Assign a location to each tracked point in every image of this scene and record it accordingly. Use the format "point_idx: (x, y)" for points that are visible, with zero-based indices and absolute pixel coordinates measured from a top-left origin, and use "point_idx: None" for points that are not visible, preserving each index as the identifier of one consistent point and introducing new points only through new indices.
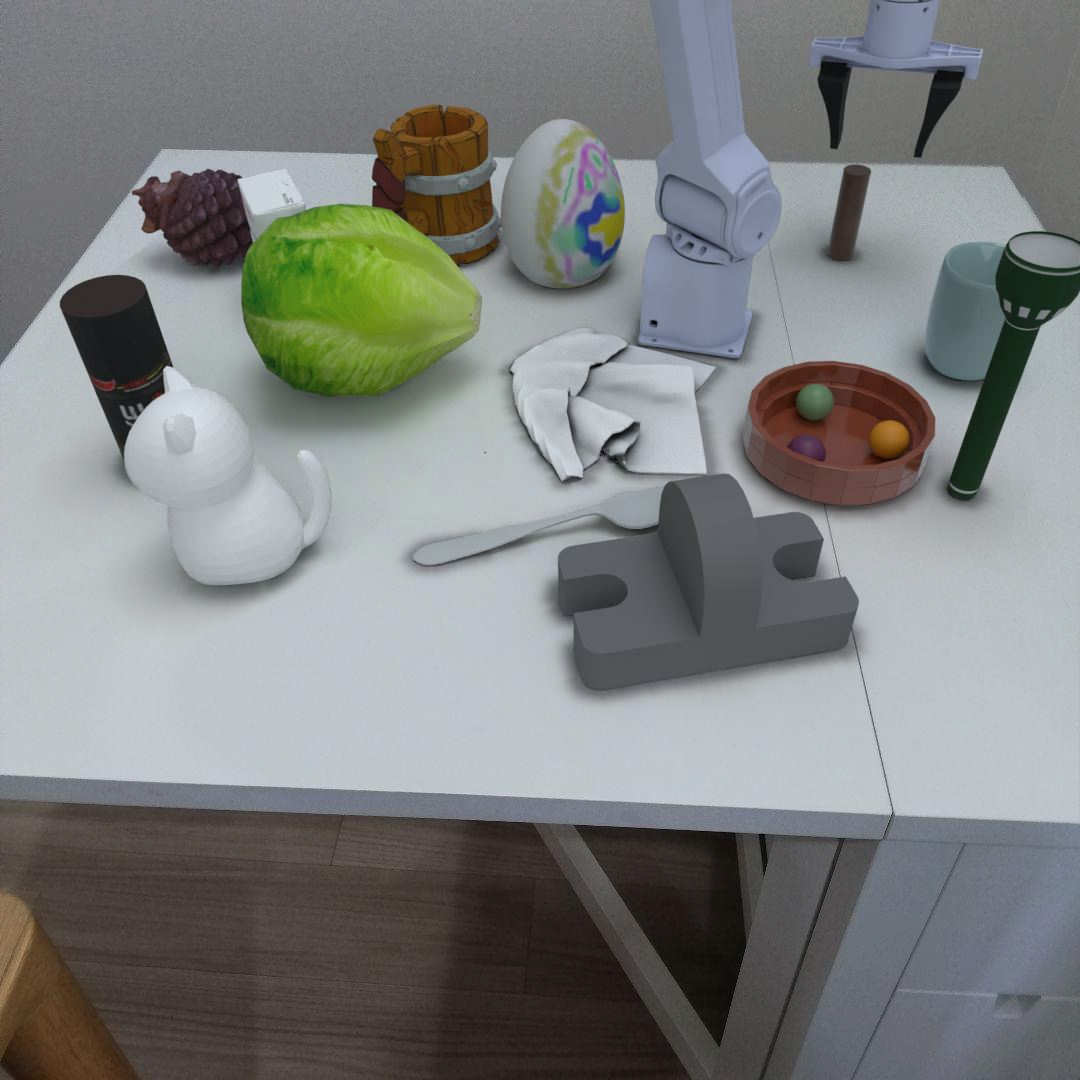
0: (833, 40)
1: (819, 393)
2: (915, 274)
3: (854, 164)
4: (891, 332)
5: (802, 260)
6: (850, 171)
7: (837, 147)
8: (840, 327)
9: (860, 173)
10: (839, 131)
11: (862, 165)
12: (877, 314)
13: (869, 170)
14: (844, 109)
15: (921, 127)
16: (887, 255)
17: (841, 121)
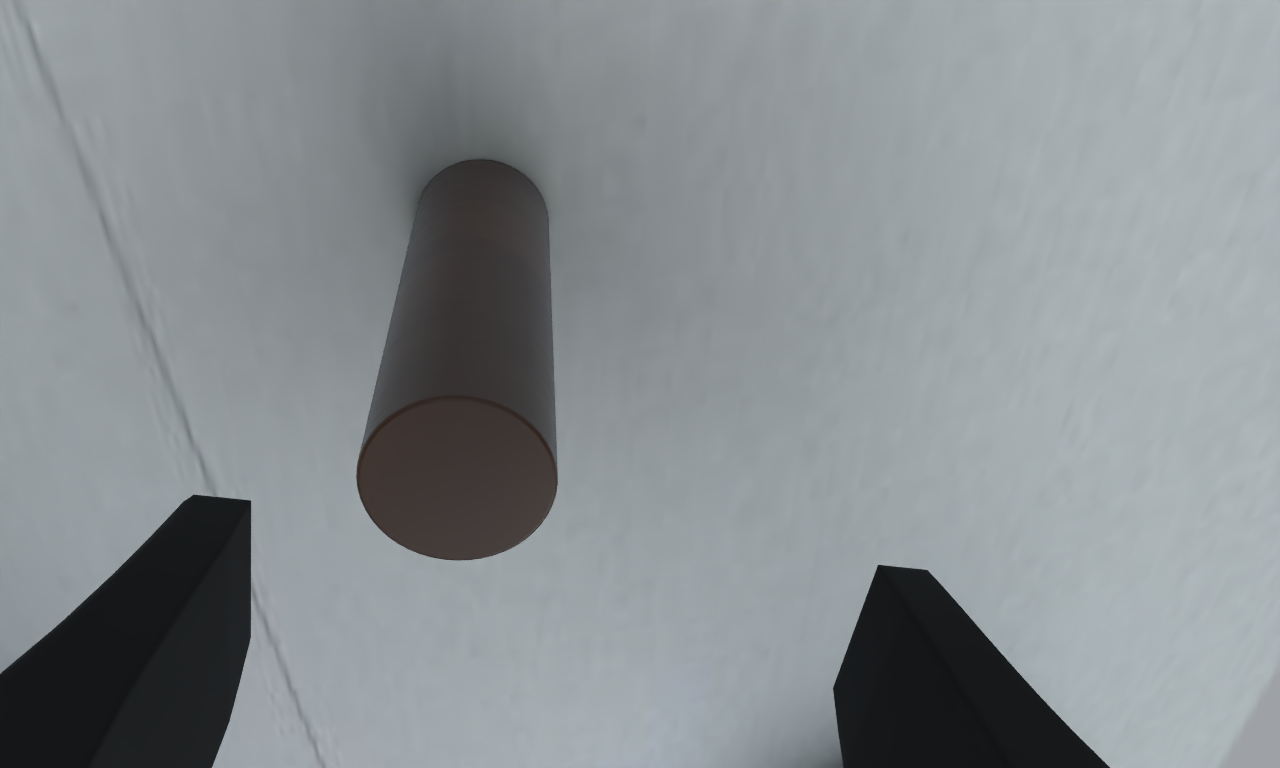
0: None
1: None
2: (835, 334)
3: (429, 400)
4: (691, 723)
5: (300, 304)
6: (409, 519)
7: (246, 653)
8: (514, 730)
9: (482, 529)
10: (206, 753)
11: (491, 405)
12: (648, 638)
13: (544, 478)
14: (154, 659)
15: (924, 732)
16: (723, 179)
17: (183, 734)
